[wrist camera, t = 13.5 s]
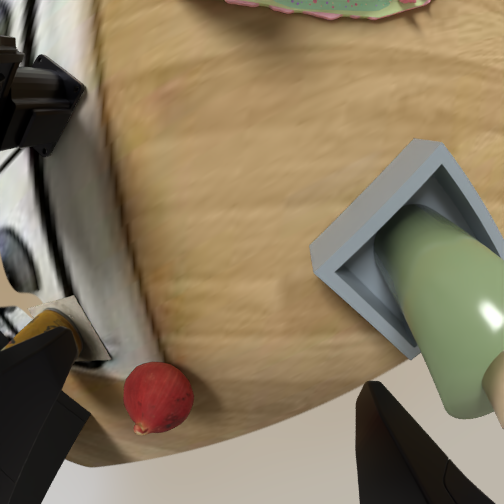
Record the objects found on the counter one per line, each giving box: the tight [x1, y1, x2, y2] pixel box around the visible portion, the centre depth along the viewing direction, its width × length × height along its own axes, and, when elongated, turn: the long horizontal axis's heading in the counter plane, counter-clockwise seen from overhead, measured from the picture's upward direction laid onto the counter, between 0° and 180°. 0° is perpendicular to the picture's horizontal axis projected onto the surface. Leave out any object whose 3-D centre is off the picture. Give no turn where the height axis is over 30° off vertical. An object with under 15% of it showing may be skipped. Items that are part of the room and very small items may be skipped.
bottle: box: [373, 204, 504, 429], centre depth 12 cm, size 6×6×14 cm
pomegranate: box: [123, 362, 194, 435], centre depth 22 cm, size 6×6×8 cm
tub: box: [309, 138, 504, 360], centre depth 17 cm, size 10×10×4 cm
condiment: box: [1, 295, 111, 365], centre depth 21 cm, size 7×8×12 cm
